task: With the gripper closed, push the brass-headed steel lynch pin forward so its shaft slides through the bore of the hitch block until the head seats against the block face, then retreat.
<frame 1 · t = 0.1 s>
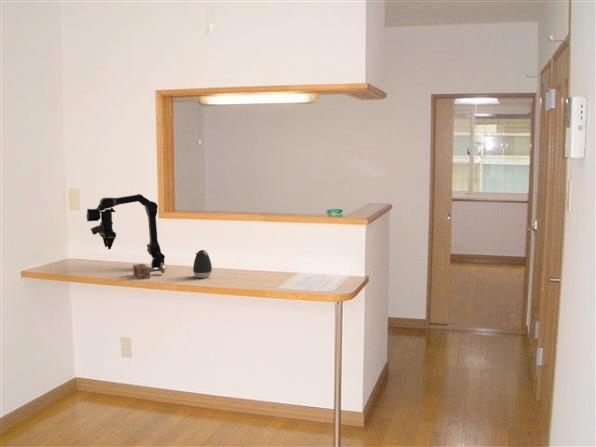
hand: (107, 248, 342), 15 cm above the breakfast bar counter, fingers open, 9 cm apart
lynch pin: (154, 269, 338), point 4 cm above the breakfast bar counter, slide at 0.0 cm
hitch block: (141, 276, 335), on the breakfast bar counter
black egg-shaped device: (202, 277, 334), on the breakfast bar counter
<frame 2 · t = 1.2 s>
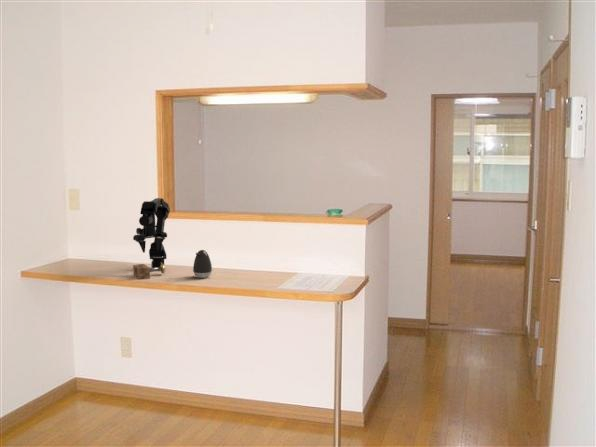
hand: (150, 251, 342), 13 cm above the breakfast bar counter, fingers open, 9 cm apart
nothing on the breakfast bar counter moved.
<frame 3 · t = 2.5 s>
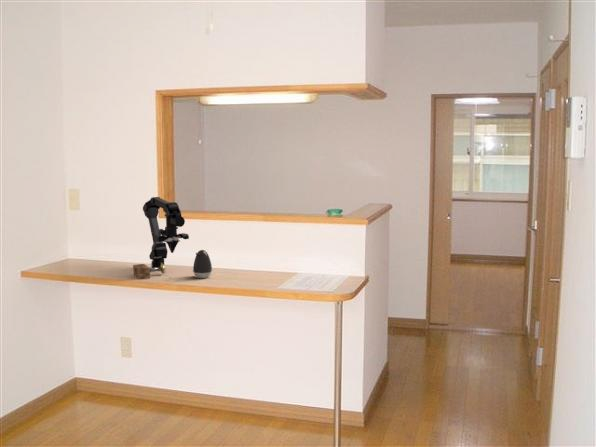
hand: (172, 252, 342), 12 cm above the breakfast bar counter, fingers closed
nothing on the breakfast bar counter moved.
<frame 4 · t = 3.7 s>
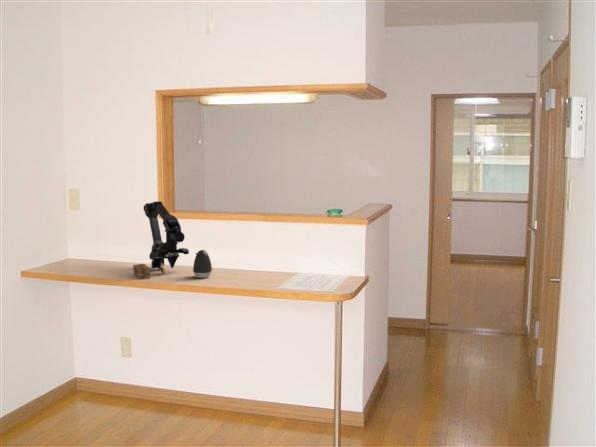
hand: (172, 267, 343), 4 cm above the breakfast bar counter, fingers closed
nothing on the breakfast bar counter moved.
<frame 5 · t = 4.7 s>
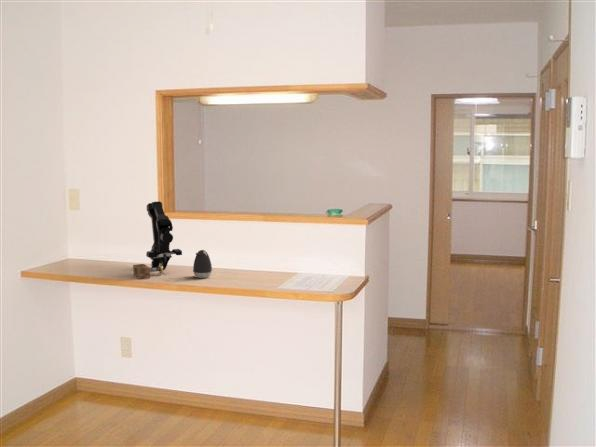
hand: (164, 268, 341), 4 cm above the breakfast bar counter, fingers closed
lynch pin: (152, 269, 338), point 4 cm above the breakfast bar counter, slide at 1.0 cm, touching gripper
everything else where it was.
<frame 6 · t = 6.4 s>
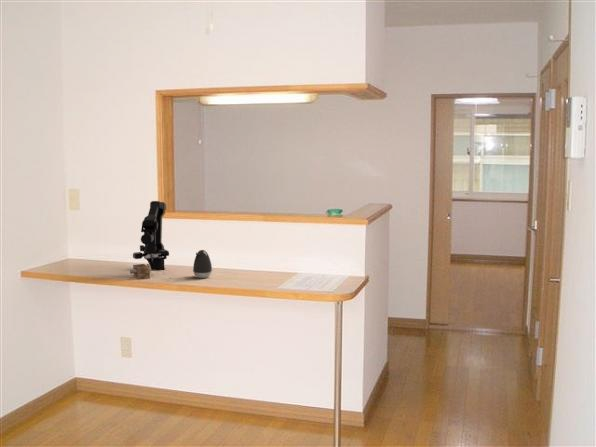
hand: (151, 269, 338), 4 cm above the breakfast bar counter, fingers closed
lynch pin: (139, 270, 335), point 4 cm above the breakfast bar counter, slide at 8.1 cm, touching gripper
everything else where it was.
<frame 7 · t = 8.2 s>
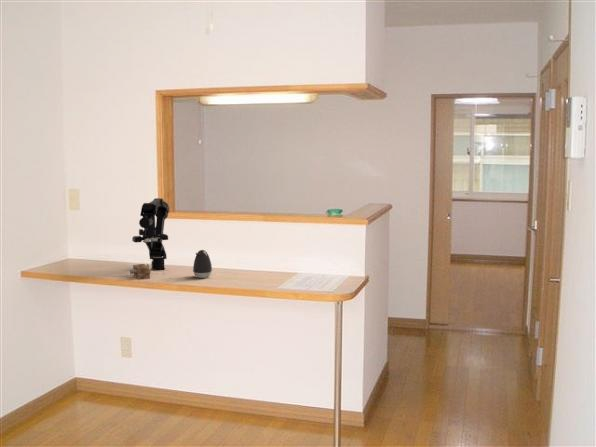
hand: (150, 253, 341), 12 cm above the breakfast bar counter, fingers closed
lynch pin: (139, 270, 335), point 4 cm above the breakfast bar counter, slide at 8.0 cm
everything else where it was.
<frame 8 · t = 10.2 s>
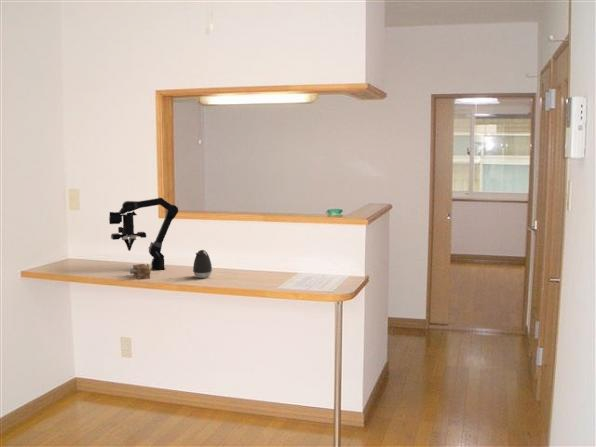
hand: (129, 250, 350), 12 cm above the breakfast bar counter, fingers closed
nothing on the breakfast bar counter moved.
at the end: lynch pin slide at 8.0 cm; the gripper is holding nothing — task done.
